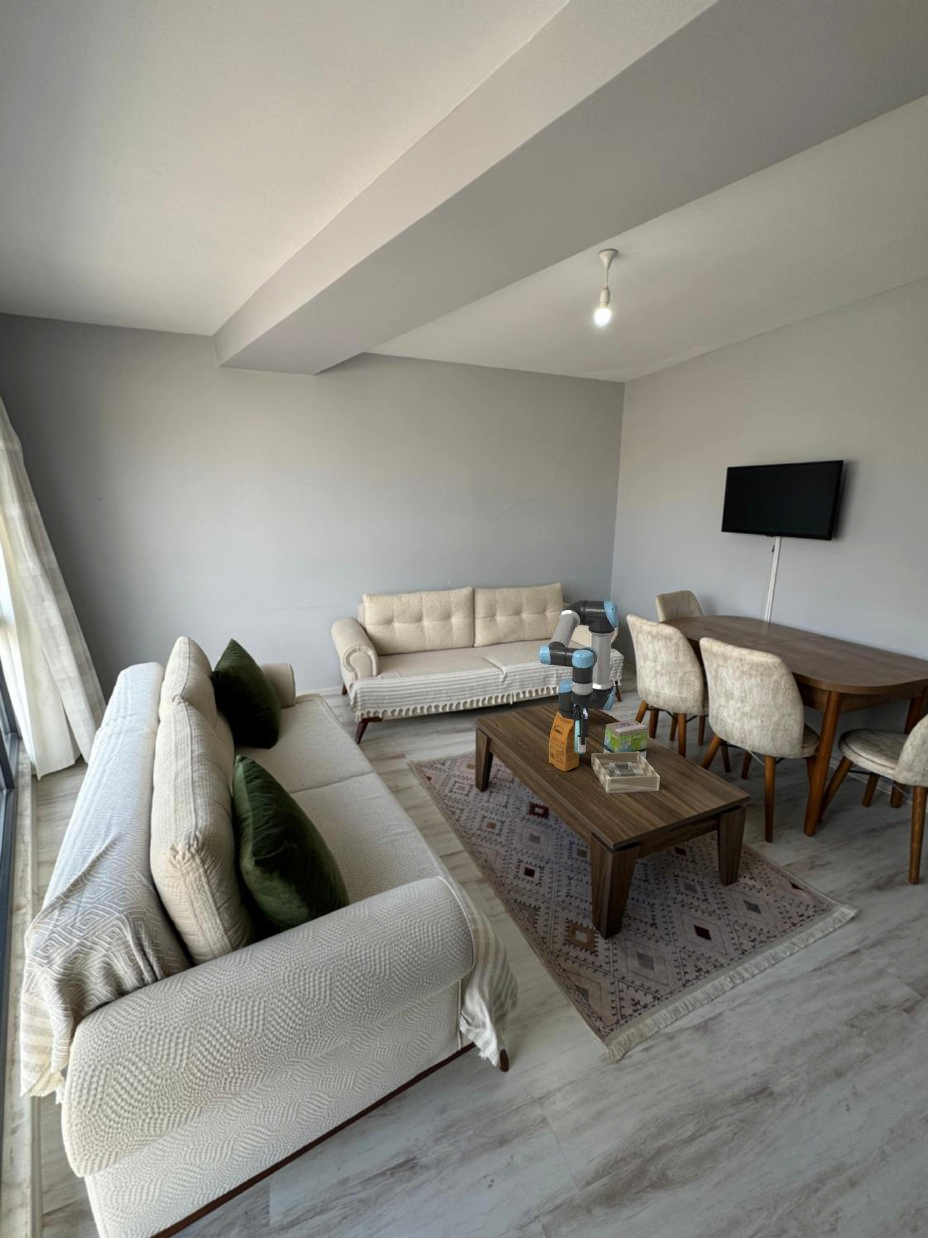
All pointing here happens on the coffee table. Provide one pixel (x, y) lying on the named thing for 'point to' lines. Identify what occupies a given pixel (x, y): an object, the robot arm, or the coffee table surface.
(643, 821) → the coffee table surface
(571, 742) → the coffee package
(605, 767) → the open box
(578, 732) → the peg
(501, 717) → the coffee table surface
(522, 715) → the coffee table surface
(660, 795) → the coffee table surface
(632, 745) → the tea box
